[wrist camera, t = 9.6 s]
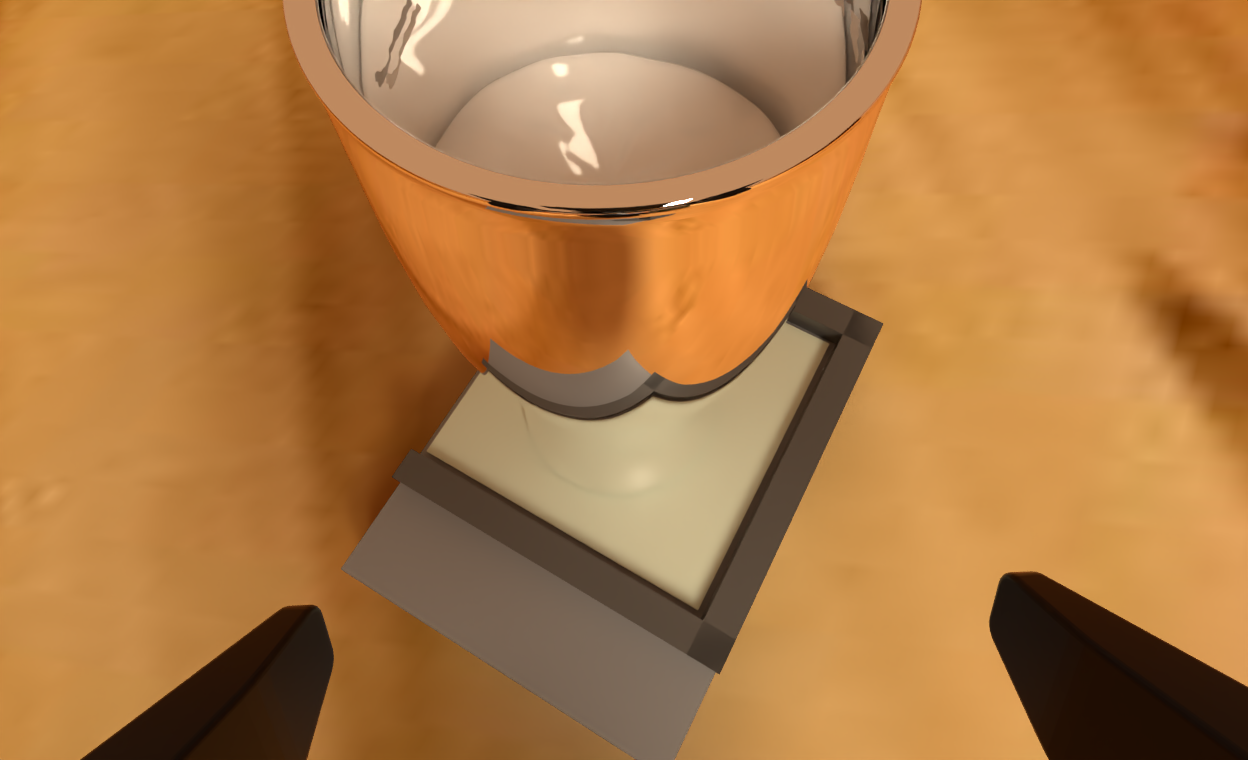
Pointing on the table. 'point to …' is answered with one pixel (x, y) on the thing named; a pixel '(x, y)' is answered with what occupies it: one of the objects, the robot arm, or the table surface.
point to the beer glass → (607, 190)
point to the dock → (613, 540)
